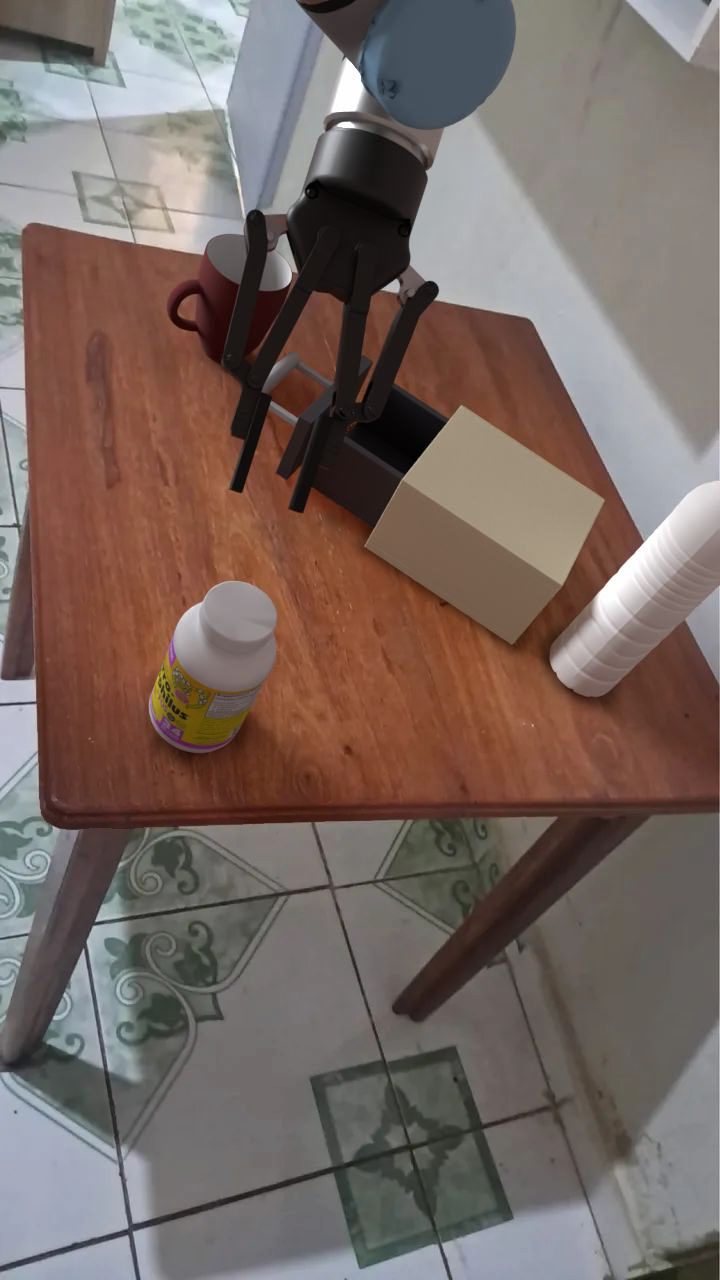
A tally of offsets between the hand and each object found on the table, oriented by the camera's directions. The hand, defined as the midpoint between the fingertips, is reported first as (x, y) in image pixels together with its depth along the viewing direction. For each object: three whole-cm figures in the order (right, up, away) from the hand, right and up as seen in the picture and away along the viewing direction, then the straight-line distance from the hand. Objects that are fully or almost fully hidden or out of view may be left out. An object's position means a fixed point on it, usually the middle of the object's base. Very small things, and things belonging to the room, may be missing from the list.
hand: (265, 500), depth 63 cm
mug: (-8, +18, +28) cm, 35 cm away
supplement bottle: (-6, -15, +4) cm, 16 cm away
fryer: (+16, -1, +25) cm, 29 cm away
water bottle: (+26, -13, +21) cm, 36 cm away
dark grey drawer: (+5, +7, +24) cm, 26 cm away
